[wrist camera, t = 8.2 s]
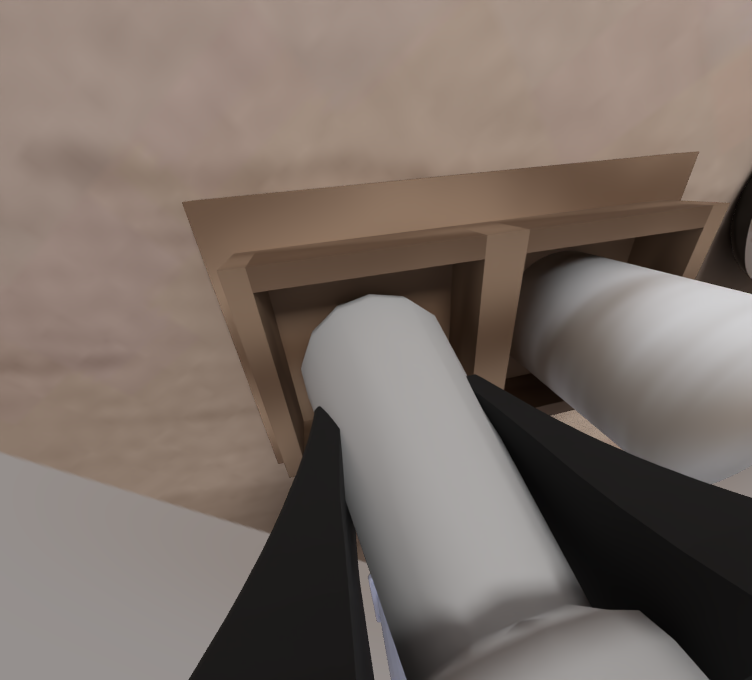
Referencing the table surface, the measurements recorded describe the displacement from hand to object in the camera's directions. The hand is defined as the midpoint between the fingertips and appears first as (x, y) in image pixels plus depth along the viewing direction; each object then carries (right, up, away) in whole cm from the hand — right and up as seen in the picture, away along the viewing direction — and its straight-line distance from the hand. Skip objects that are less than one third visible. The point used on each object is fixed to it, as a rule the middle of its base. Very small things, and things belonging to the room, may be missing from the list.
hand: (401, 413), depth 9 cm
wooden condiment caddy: (+3, +4, +6) cm, 8 cm away
